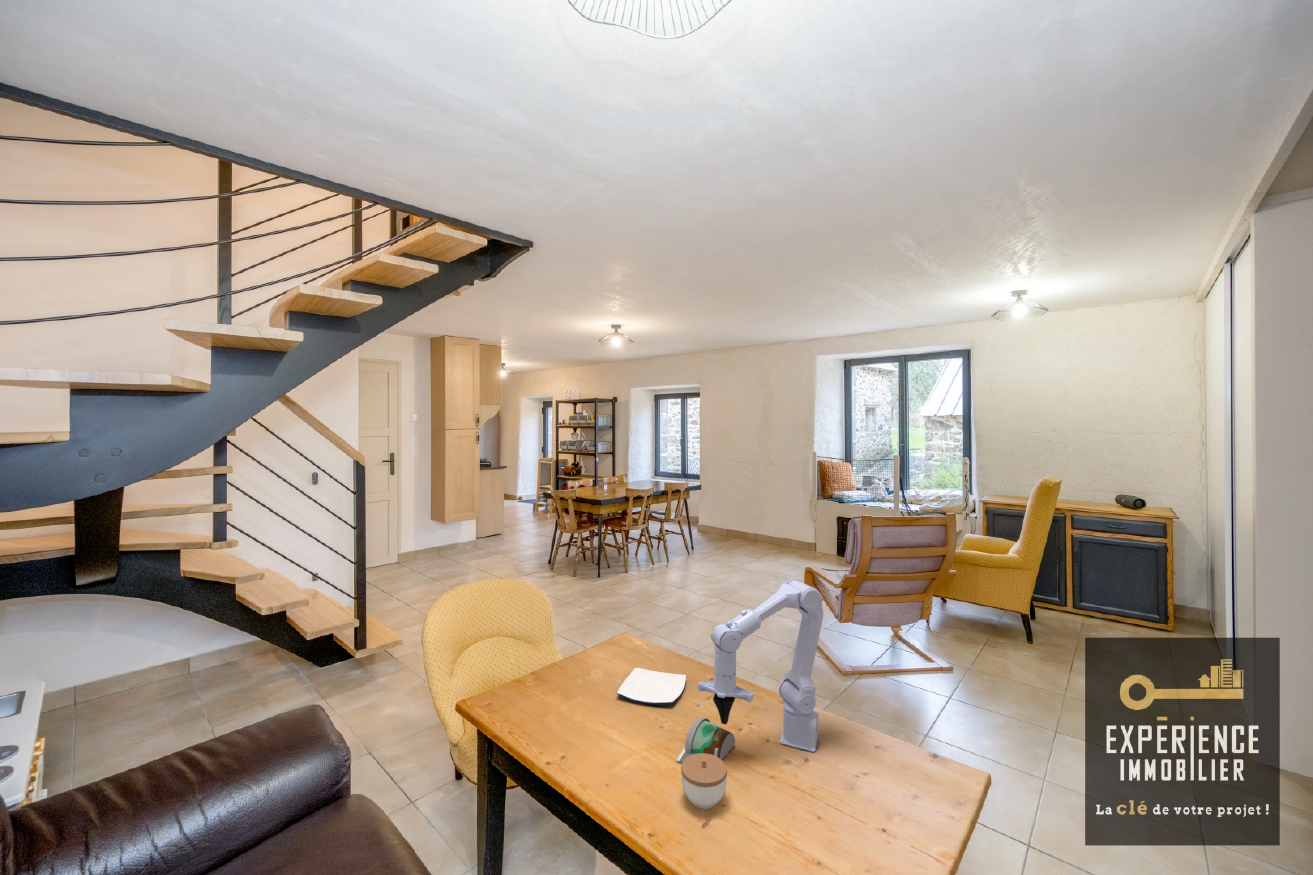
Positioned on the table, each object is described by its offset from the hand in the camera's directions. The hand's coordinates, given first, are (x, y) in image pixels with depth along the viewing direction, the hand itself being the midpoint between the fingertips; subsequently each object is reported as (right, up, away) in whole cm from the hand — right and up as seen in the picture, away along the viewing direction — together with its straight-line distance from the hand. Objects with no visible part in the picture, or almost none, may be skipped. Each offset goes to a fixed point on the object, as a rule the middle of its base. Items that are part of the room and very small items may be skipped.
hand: (724, 722), depth 138 cm
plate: (-19, -9, +34) cm, 40 cm away
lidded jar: (-7, -9, -16) cm, 20 cm away
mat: (-5, -9, +2) cm, 11 cm away
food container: (+1, -6, 0) cm, 6 cm away
